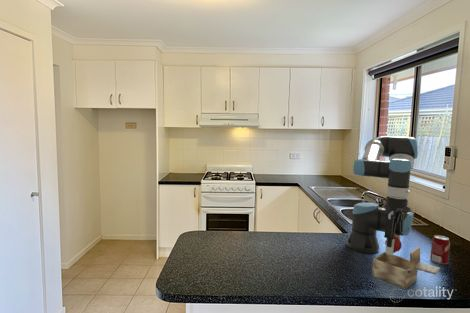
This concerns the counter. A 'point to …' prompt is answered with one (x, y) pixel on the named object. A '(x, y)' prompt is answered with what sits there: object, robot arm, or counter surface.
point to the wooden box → (394, 270)
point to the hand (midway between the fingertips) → (392, 251)
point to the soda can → (440, 249)
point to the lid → (420, 266)
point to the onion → (396, 244)
